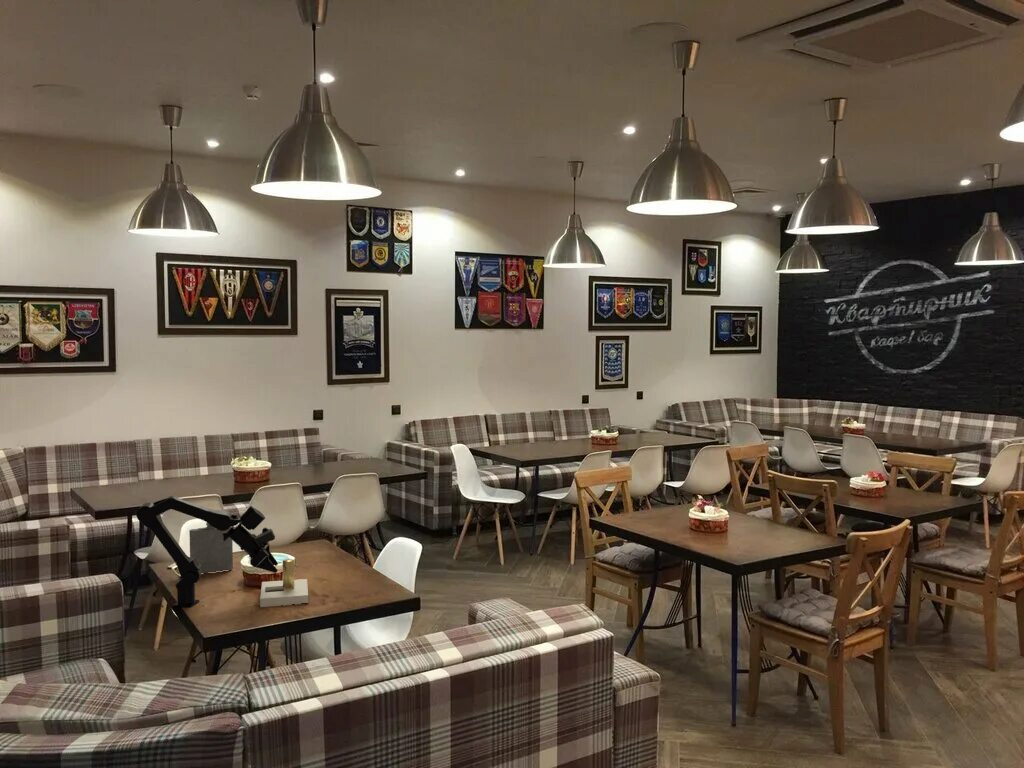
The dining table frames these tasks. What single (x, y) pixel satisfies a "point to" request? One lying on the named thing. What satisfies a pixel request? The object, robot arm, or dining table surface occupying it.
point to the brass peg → (288, 574)
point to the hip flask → (211, 549)
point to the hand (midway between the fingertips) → (277, 568)
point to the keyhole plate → (283, 593)
